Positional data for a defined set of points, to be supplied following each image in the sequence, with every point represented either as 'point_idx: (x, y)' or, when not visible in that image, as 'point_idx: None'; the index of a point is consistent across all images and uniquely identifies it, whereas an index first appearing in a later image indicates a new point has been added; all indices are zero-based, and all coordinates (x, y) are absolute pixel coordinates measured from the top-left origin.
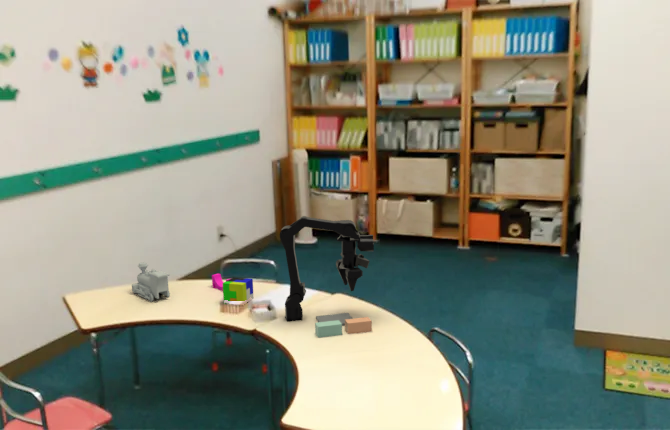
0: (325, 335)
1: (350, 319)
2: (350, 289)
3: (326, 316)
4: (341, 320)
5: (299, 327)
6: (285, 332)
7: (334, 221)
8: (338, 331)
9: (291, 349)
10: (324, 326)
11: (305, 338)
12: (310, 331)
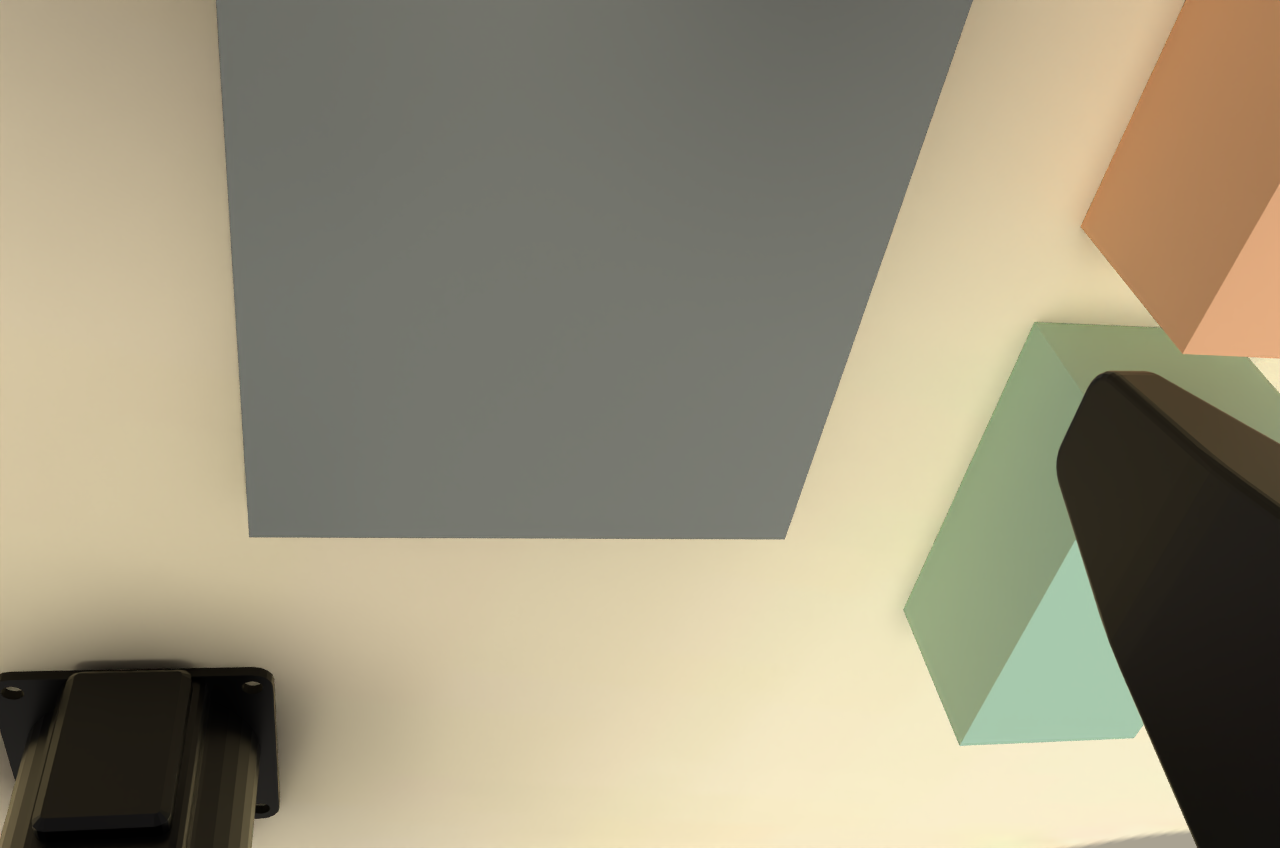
0: None
1: (1275, 255)
2: (1115, 554)
3: (339, 389)
4: (722, 198)
5: (580, 724)
6: (671, 838)
7: None
8: None
9: (1149, 823)
10: None
11: None
12: (804, 645)
